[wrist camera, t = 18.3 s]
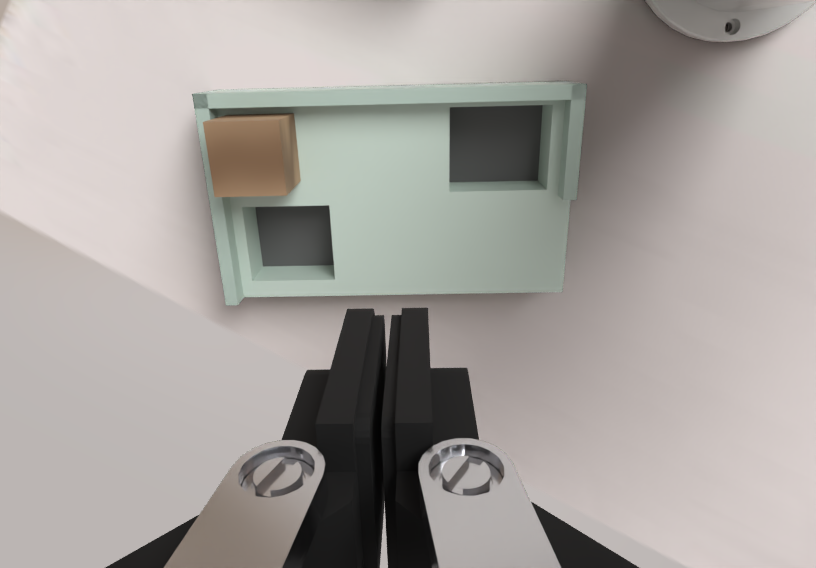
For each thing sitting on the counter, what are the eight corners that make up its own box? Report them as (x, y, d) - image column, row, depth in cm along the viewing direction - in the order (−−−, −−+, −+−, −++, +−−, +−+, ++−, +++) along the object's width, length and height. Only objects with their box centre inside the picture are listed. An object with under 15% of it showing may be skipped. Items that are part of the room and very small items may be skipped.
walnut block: (226, 114, 33) (202, 122, 29) (294, 113, 33) (278, 120, 29) (236, 182, 35) (214, 197, 31) (300, 180, 34) (286, 195, 31)
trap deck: (217, 89, 35) (192, 94, 31) (567, 81, 35) (586, 84, 31) (244, 280, 40) (225, 305, 36) (552, 275, 40) (567, 299, 36)
